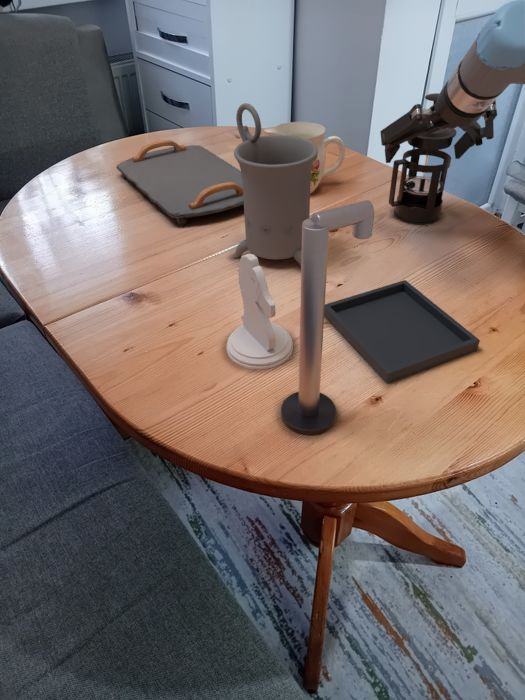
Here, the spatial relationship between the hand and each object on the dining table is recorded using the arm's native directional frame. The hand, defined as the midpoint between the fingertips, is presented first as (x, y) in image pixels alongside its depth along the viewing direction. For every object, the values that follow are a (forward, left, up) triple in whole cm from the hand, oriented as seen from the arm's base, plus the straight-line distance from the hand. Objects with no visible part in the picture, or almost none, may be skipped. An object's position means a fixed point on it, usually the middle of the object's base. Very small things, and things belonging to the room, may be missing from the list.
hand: (421, 154), depth 103 cm
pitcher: (+14, -21, -12) cm, 28 cm away
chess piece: (+46, +25, -12) cm, 54 cm away
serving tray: (+37, -34, -12) cm, 52 cm away
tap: (+45, +40, -12) cm, 61 cm away
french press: (0, +1, -12) cm, 12 cm away
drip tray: (+26, +31, -12) cm, 42 cm away
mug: (+32, +1, -12) cm, 34 cm away
